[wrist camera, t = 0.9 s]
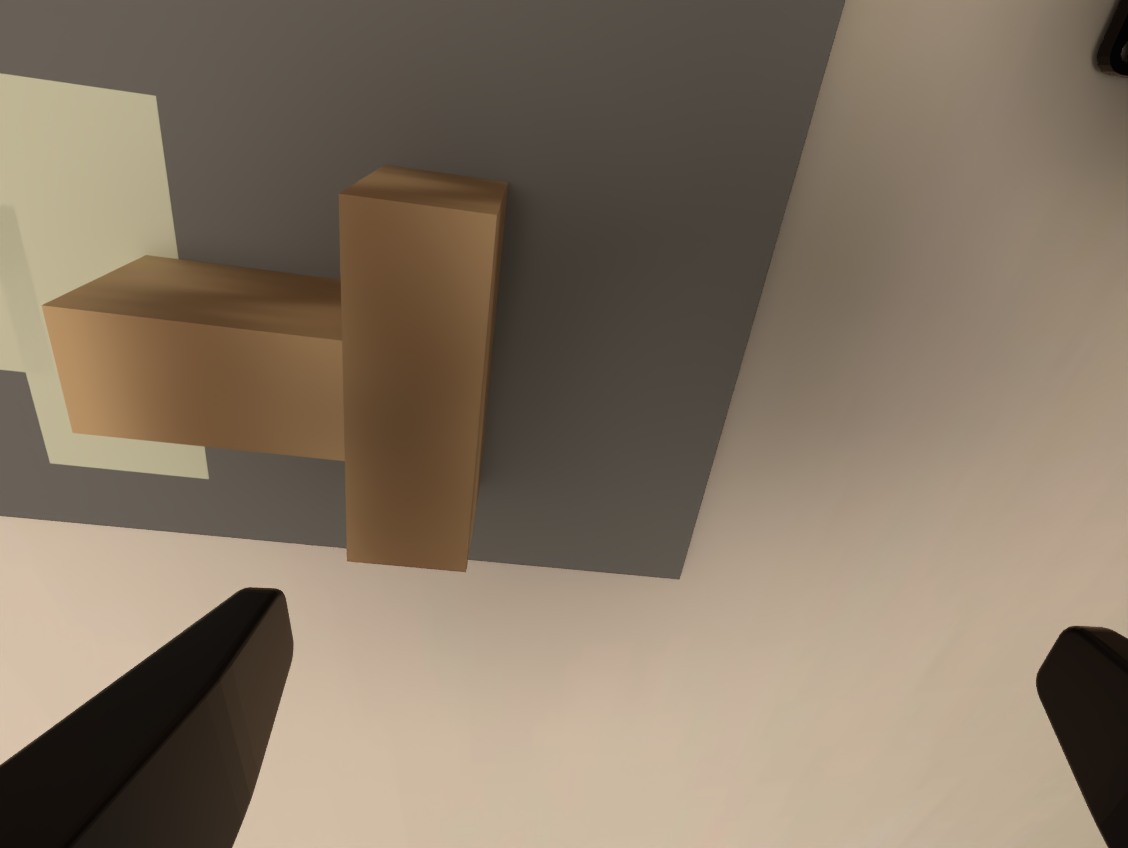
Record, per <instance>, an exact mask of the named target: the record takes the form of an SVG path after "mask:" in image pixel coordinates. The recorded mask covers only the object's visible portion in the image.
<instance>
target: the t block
mask: <svg viewBox="0 0 1128 848" xmlns="http://www.w3.org/2000/svg"><path fill="white" fill-rule="evenodd" d="M507 187H508V182H504V181H497V180H490V179H482V178H475V177H468V176H461V175H454V174H447V173H440V172H433V171H426V170H418V169H411V168H404V167H397V166H390V165H383V166H382V167H380V168H378V169H377V170H375V171H374V172H372V173H370V174H369V175H367V176H366V177H364V178H363V179H361V180H359V181H358V182H356V183H355V184H353V185H351V186H350V187H348V188H347V189H345V190H344V191H342V192H340V193H339V228H340V272H341V279H333V278H325V277H317V276H309V275H301V274H293V273H285V272H277V271H269V270H261V269H253V268H245V267H237V266H229V265H222V264H214V263H206V262H198V261H190V260H182V259H174V258H166V257H158V256H150V255H145V256H143V257H141V258H139V259H137V260H135V261H132V262H130V263H128V264H126V265H124V266H122V267H120V268H118V269H116V270H114V271H112V272H110V273H108V274H105V275H103V276H101V277H99V278H97V279H95V280H93V281H91V282H89V283H87V284H85V285H83V286H81V287H78V288H76V289H74V290H72V291H70V292H68V293H66V294H64V295H62V296H60V297H58V298H56V299H53V300H51V301H49V302H47V303H45V304H43V305H41V306H42V310H43V314H44V318H45V322H46V326H47V330H48V334H49V338H50V342H51V346H52V350H53V354H54V359H55V363H56V367H57V371H58V375H59V379H60V383H61V387H62V391H63V395H64V399H65V403H66V408H67V412H68V416H69V420H70V424H71V428H72V432H73V433H78V434H88V435H97V436H107V437H117V438H126V439H136V440H146V441H155V442H165V443H175V444H184V445H194V446H203V447H213V448H223V449H232V450H242V451H252V452H261V453H271V454H281V455H290V456H300V457H310V458H319V459H329V460H339V461H345V493H346V538H347V561H350V562H361V563H372V564H383V565H394V566H405V567H416V568H427V569H438V570H449V571H460V572H466V568H467V562H468V556H469V549H470V543H471V537H472V531H473V525H474V518H475V512H476V506H477V500H478V494H479V488H480V479H481V468H482V457H483V446H484V435H485V425H486V414H487V403H488V392H489V381H490V371H491V360H492V349H493V338H494V327H495V317H496V306H497V295H498V284H499V273H500V263H501V252H502V241H503V230H504V219H505V209H506V198H507Z"/></svg>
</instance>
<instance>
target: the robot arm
mask: <svg viewBox="0 0 1128 848" xmlns="http://www.w3.org/2000/svg"><path fill="white" fill-rule="evenodd" d="M1126 42H1128V0H1121V1H1120V3H1119V6H1118V8H1117V10H1116V12H1115V14H1114V17H1113V19H1112V21H1111V23H1110V25H1109V28H1108V30H1107V32H1106V34H1105V36H1104V39H1103V41H1102V43H1101V45H1100V48H1099V51H1098V55H1097V62H1098V66H1099V68H1100V69H1101V71H1102V72H1104V73H1106V74H1109V75H1115V76H1121V77H1127V78H1128V56H1127V57H1126V58H1125V59H1124V60H1122V57H1121V52H1122V48H1123V47H1124V45H1125V44H1126ZM292 657H293V636H292V631H291V625H290V619H289V614H288V608H287V602H286V598H285V595H284V594H283V592H282V591H281V590H279V589H274V588H252V587H249V588H244V589H242V590H240V591H238V592H236V593H235V594H234V595H232V596H231V597H229V598H228V599H227V600H225V601H224V602H223V603H221V604H220V605H219V606H217V607H216V608H214V609H213V610H212V611H210V612H209V613H208V614H206V615H205V616H204V617H202V618H201V619H199V620H198V621H197V622H195V623H194V624H193V625H191V626H190V627H188V628H187V629H186V630H184V631H183V632H182V633H180V634H179V635H178V636H176V637H175V638H173V639H172V640H171V641H169V642H168V643H167V644H165V645H164V646H163V647H161V648H160V649H158V650H157V651H156V652H154V653H153V654H152V655H150V656H149V657H147V658H146V659H145V660H143V661H142V662H141V663H139V664H138V665H137V666H135V667H134V668H132V669H131V670H130V671H128V672H127V673H126V674H124V675H123V676H121V677H120V678H119V679H117V680H116V681H115V682H113V683H112V684H111V685H109V686H108V687H106V688H105V689H104V690H102V691H101V692H100V693H98V694H97V695H96V696H94V697H93V698H91V699H90V700H89V701H87V702H86V703H85V704H83V705H82V706H80V707H79V708H78V709H76V710H75V711H74V712H72V713H71V714H70V715H68V716H67V717H65V718H64V719H63V720H61V721H60V722H59V723H57V724H56V725H54V726H53V727H52V728H50V729H49V730H48V731H46V732H45V733H44V734H42V735H41V736H39V737H38V738H37V739H35V740H34V741H33V742H31V743H30V744H29V745H27V746H26V747H24V748H23V749H22V750H20V751H19V752H18V753H16V754H15V755H13V756H12V757H11V758H9V759H8V760H7V761H5V762H4V763H3V764H1V765H0V848H232V847H233V844H234V842H235V839H236V837H237V834H238V832H239V830H240V827H241V825H242V822H243V819H244V817H245V814H246V812H247V809H248V806H249V804H250V801H251V798H252V795H253V792H254V789H255V785H256V782H257V779H258V776H259V772H260V769H261V765H262V762H263V759H264V755H265V752H266V748H267V745H268V741H269V738H270V734H271V731H272V728H273V724H274V721H275V717H276V714H277V710H278V707H279V703H280V700H281V697H282V693H283V690H284V686H285V683H286V679H287V676H288V673H289V669H290V666H291V662H292ZM1036 687H1037V692H1038V695H1039V698H1040V700H1041V702H1042V705H1043V707H1044V709H1045V711H1046V714H1047V716H1048V718H1049V720H1050V723H1051V725H1052V727H1053V729H1054V732H1055V734H1056V736H1057V738H1058V741H1059V743H1060V745H1061V747H1062V750H1063V752H1064V754H1065V756H1066V759H1067V761H1068V763H1069V765H1070V768H1071V770H1072V772H1073V774H1074V777H1075V779H1076V781H1077V783H1078V786H1079V788H1080V790H1081V792H1082V795H1083V797H1084V799H1085V801H1086V804H1087V806H1088V808H1089V810H1090V812H1091V814H1092V817H1093V819H1094V821H1095V823H1096V825H1097V827H1098V829H1099V831H1100V833H1101V835H1102V837H1103V839H1104V841H1105V843H1106V844H1107V846H1108V848H1128V639H1127V638H1126V637H1124V636H1122V635H1120V634H1119V633H1117V632H1115V631H1113V630H1111V629H1108V628H1103V627H1089V626H1071V627H1068V628H1067V629H1065V630H1063V631H1062V633H1061V634H1060V635H1059V637H1058V639H1057V640H1056V642H1055V644H1054V645H1053V647H1052V649H1051V650H1050V652H1049V654H1048V655H1047V657H1046V659H1045V660H1044V662H1043V664H1042V665H1041V667H1040V669H1039V671H1038V673H1037V677H1036Z"/></svg>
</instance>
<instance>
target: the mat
mask: <svg viewBox="0 0 1128 848" xmlns="http://www.w3.org/2000/svg"><path fill="white" fill-rule="evenodd" d="M844 3H845V0H0V516H7V517H18V518H29V519H39V520H50V521H61V522H71V523H82V524H93V525H104V526H114V527H125V528H136V529H146V530H157V531H168V532H178V533H189V534H200V535H210V536H221V537H232V538H242V539H253V540H264V541H274V542H285V543H296V544H306V545H317V546H328V547H338V548H347V538H346V493H345V461H339V460H329V459H319V458H310V457H300V456H290V455H281V454H271V453H261V452H252V451H242V450H232V449H223V448H213V447H203V446H194V445H184V444H175V443H165V442H155V441H146V440H136V439H126V438H117V437H107V436H97V435H88V434H78V433H73V432H72V428H71V424H70V420H69V416H68V412H67V408H66V403H65V399H64V395H63V391H62V387H61V383H60V379H59V375H58V371H57V367H56V363H55V359H54V354H53V350H52V346H51V342H50V338H49V334H48V330H47V326H46V322H45V318H44V314H43V310H42V306H41V305H43V304H45V303H47V302H49V301H51V300H53V299H56V298H58V297H60V296H62V295H64V294H66V293H68V292H70V291H72V290H74V289H76V288H78V287H81V286H83V285H85V284H87V283H89V282H91V281H93V280H95V279H97V278H99V277H101V276H103V275H105V274H108V273H110V272H112V271H114V270H116V269H118V268H120V267H122V266H124V265H126V264H128V263H130V262H132V261H135V260H137V259H139V258H141V257H143V256H145V255H150V256H158V257H166V258H174V259H182V260H190V261H198V262H206V263H214V264H222V265H229V266H237V267H245V268H253V269H261V270H269V271H277V272H285V273H293V274H301V275H309V276H317V277H325V278H333V279H341V272H340V228H339V193H340V192H342V191H344V190H345V189H347V188H348V187H350V186H351V185H353V184H355V183H356V182H358V181H359V180H361V179H363V178H364V177H366V176H367V175H369V174H370V173H372V172H374V171H375V170H377V169H378V168H380V167H382V166H383V165H390V166H397V167H404V168H411V169H418V170H426V171H433V172H440V173H447V174H454V175H461V176H468V177H475V178H482V179H490V180H497V181H504V182H508V187H507V198H506V209H505V219H504V230H503V241H502V252H501V263H500V273H499V284H498V295H497V306H496V317H495V327H494V338H493V349H492V360H491V371H490V381H489V392H488V403H487V414H486V425H485V435H484V446H483V457H482V468H481V479H480V488H479V494H478V500H477V506H476V512H475V518H474V525H473V531H472V537H471V543H470V549H469V556H468V560H477V561H488V562H499V563H509V564H520V565H531V566H541V567H552V568H563V569H573V570H584V571H595V572H606V573H616V574H627V575H638V576H648V577H659V578H670V579H680V576H681V572H682V569H683V565H684V562H685V558H686V555H687V551H688V548H689V544H690V541H691V537H692V534H693V530H694V527H695V523H696V520H697V516H698V513H699V509H700V506H701V502H702V499H703V495H704V492H705V488H706V485H707V481H708V478H709V474H710V471H711V467H712V464H713V460H714V457H715V453H716V450H717V447H718V443H719V440H720V436H721V433H722V429H723V426H724V422H725V419H726V415H727V412H728V408H729V405H730V401H731V398H732V394H733V391H734V387H735V384H736V380H737V377H738V373H739V370H740V366H741V363H742V359H743V356H744V352H745V349H746V345H747V342H748V338H749V335H750V331H751V328H752V324H753V321H754V317H755V314H756V310H757V307H758V303H759V300H760V296H761V293H762V289H763V286H764V282H765V279H766V275H767V272H768V269H769V265H770V262H771V258H772V255H773V251H774V248H775V244H776V241H777V237H778V234H779V230H780V227H781V223H782V220H783V216H784V213H785V209H786V206H787V202H788V199H789V195H790V192H791V188H792V185H793V181H794V178H795V174H796V171H797V167H798V164H799V160H800V157H801V153H802V150H803V146H804V143H805V139H806V136H807V132H808V129H809V125H810V122H811V118H812V115H813V111H814V108H815V104H816V101H817V97H818V94H819V90H820V87H821V84H822V80H823V77H824V73H825V70H826V66H827V63H828V59H829V56H830V52H831V49H832V45H833V42H834V38H835V35H836V31H837V28H838V24H839V21H840V17H841V14H842V10H843V7H844Z"/></svg>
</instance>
